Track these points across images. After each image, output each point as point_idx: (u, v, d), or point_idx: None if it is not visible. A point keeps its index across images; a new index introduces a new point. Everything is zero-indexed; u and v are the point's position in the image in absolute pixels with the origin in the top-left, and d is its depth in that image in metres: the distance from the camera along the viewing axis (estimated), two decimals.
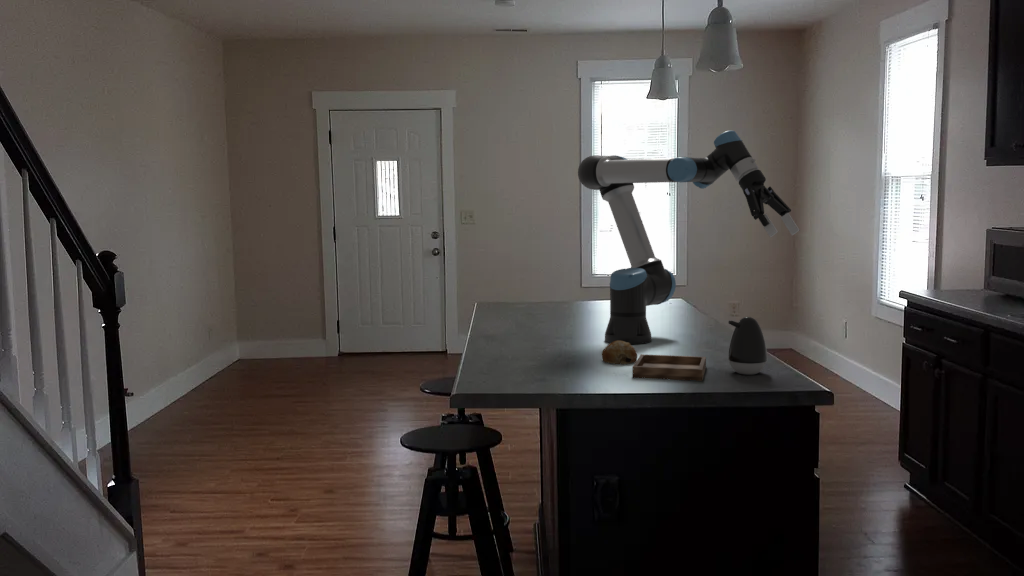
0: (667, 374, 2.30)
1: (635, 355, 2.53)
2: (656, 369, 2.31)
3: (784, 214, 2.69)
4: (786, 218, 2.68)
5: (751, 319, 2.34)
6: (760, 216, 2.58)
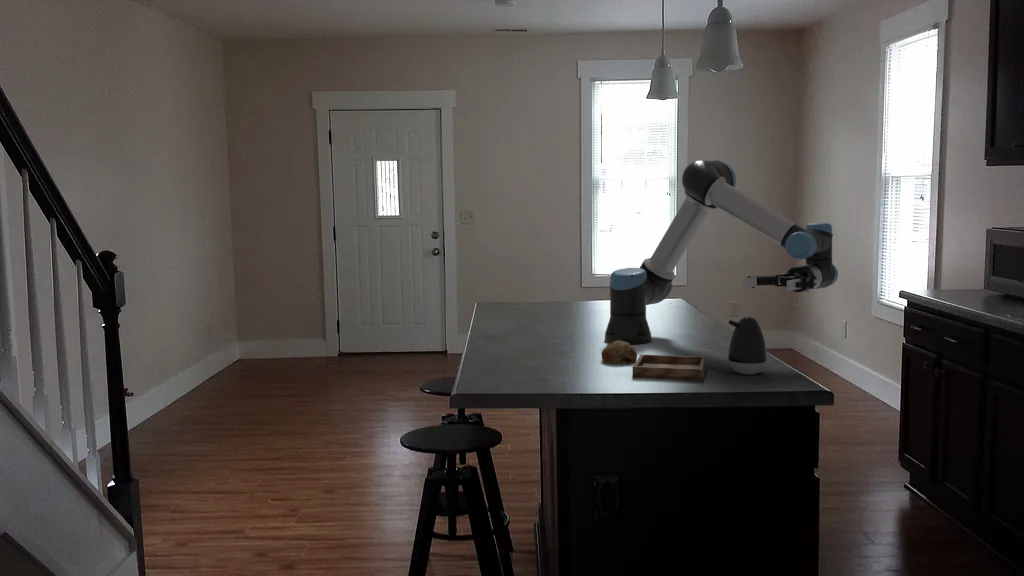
0: (667, 374, 2.30)
1: (635, 355, 2.53)
2: (656, 369, 2.31)
3: None
4: (754, 282, 2.50)
5: (751, 319, 2.34)
6: (805, 284, 2.40)
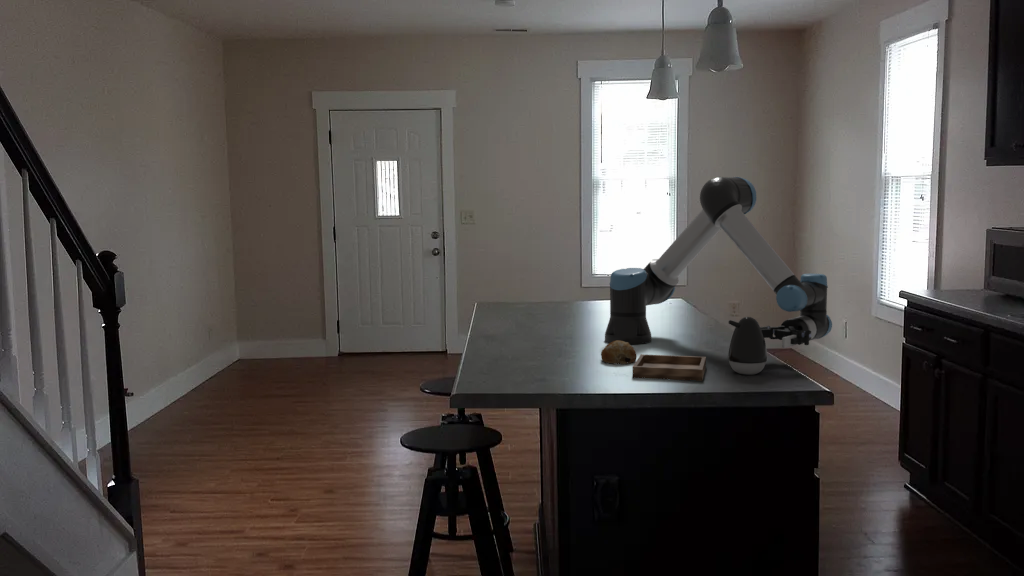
0: (667, 374, 2.30)
1: (634, 355, 2.53)
2: (656, 369, 2.31)
3: None
4: None
5: (751, 319, 2.34)
6: (800, 340, 2.39)
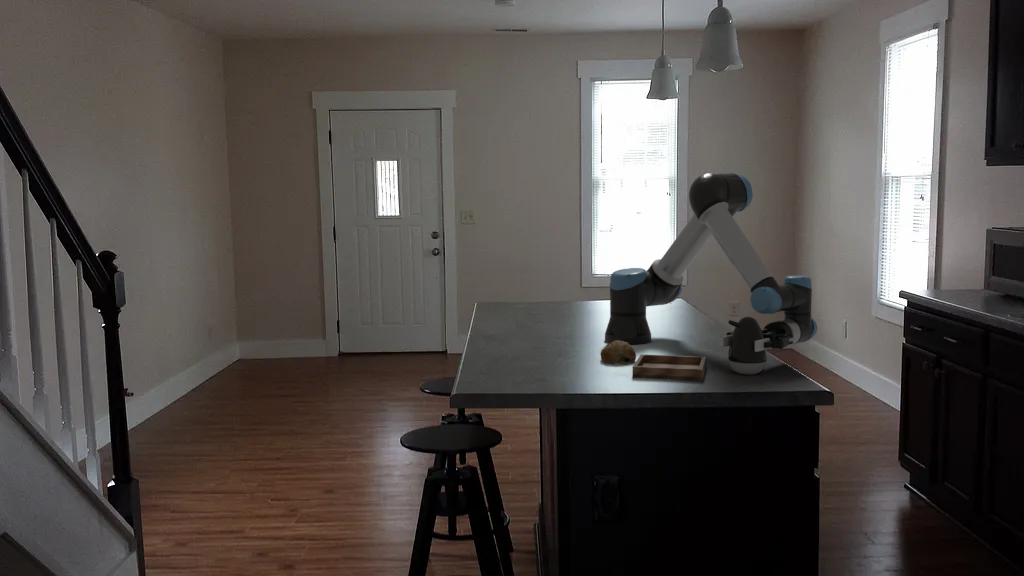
0: (667, 374, 2.30)
1: (634, 355, 2.53)
2: (656, 369, 2.31)
3: None
4: None
5: (751, 319, 2.34)
6: (773, 344, 2.33)
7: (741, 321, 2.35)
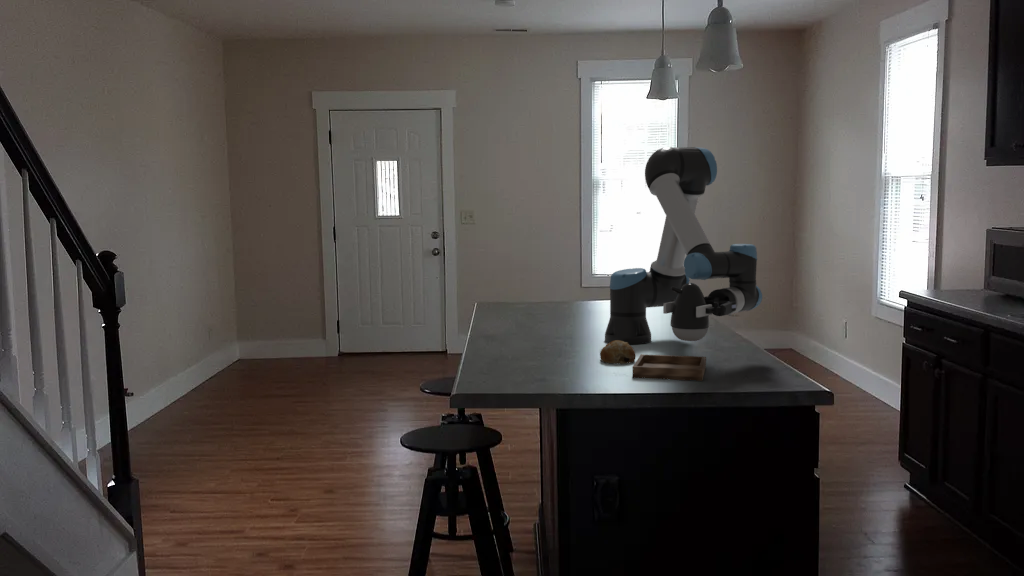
0: (667, 374, 2.30)
1: (633, 355, 2.53)
2: (656, 369, 2.31)
3: None
4: None
5: (693, 285, 2.33)
6: (715, 310, 2.32)
7: (683, 287, 2.34)
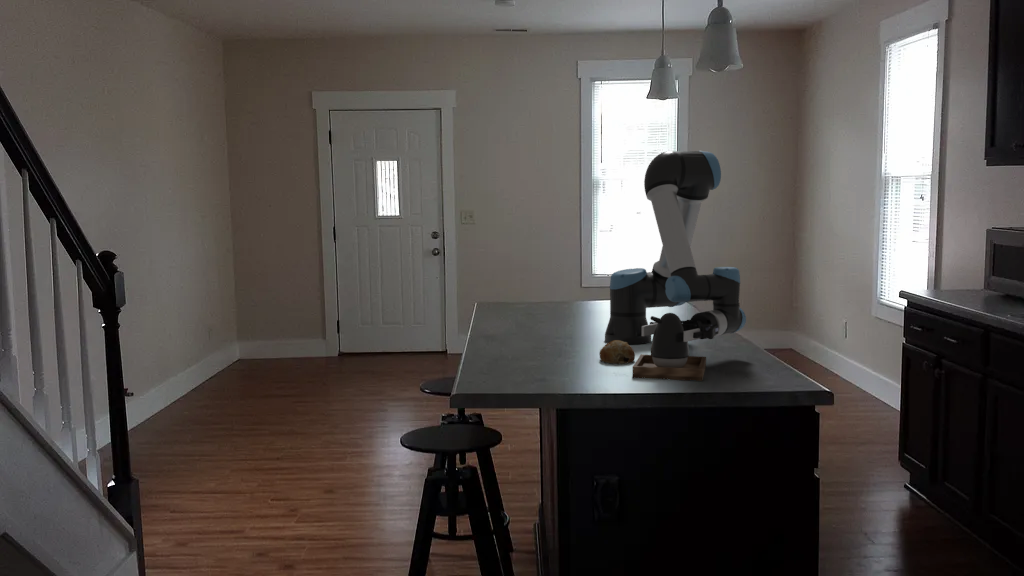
0: (667, 374, 2.30)
1: (633, 355, 2.53)
2: (656, 369, 2.31)
3: None
4: None
5: (672, 315, 2.36)
6: (703, 334, 2.34)
7: (663, 317, 2.37)
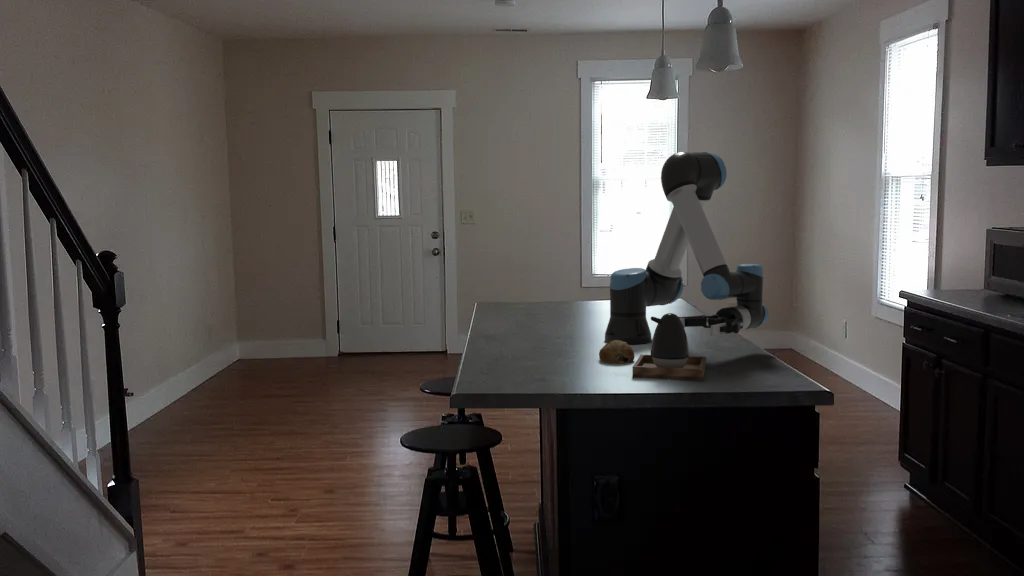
0: (667, 374, 2.30)
1: (632, 354, 2.54)
2: (656, 369, 2.31)
3: None
4: None
5: (672, 316, 2.36)
6: (729, 328, 2.43)
7: (663, 317, 2.37)
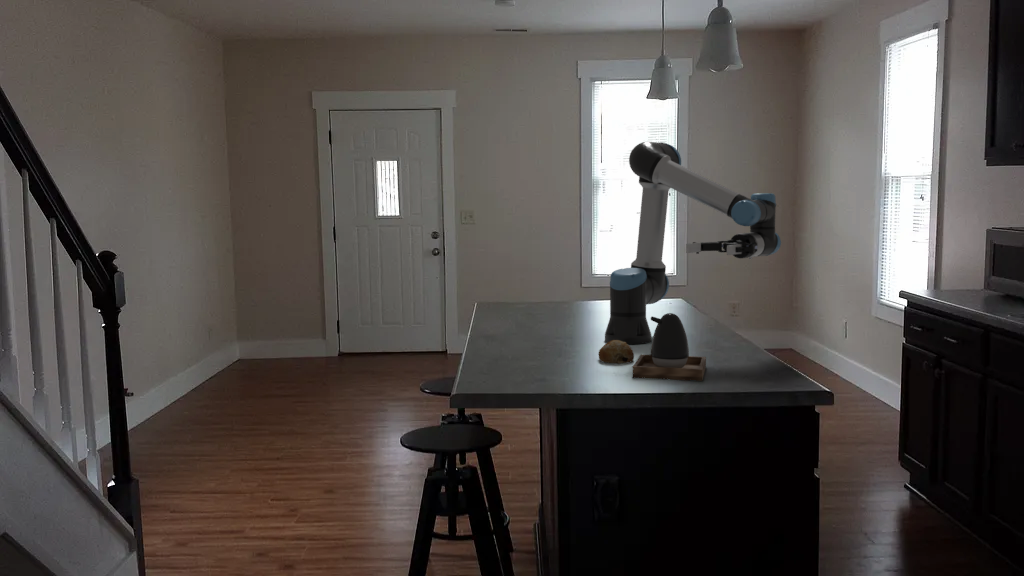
0: (667, 374, 2.30)
1: (632, 354, 2.54)
2: (656, 369, 2.31)
3: None
4: (698, 247, 2.62)
5: (672, 316, 2.36)
6: (744, 249, 2.52)
7: (663, 317, 2.37)
